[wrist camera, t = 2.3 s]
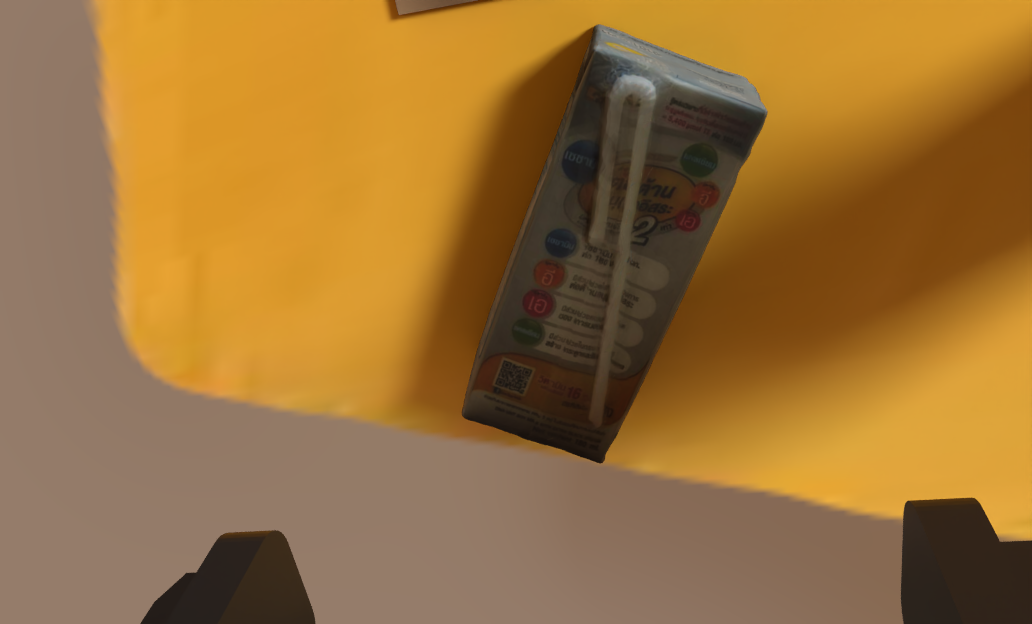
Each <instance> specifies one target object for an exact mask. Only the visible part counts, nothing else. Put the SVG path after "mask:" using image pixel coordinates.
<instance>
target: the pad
mask: <svg viewBox="0 0 1032 624" xmlns="http://www.w3.org/2000/svg"><path fill="white" fill-rule="evenodd" d="M471 1H476V0H395V2H396V6H397V10H398V14H399V15H402V14H408V13H413V12H418V11H423V10H429V9H434V8H439V7H445V6H450V5H455V4H461V3H466V2H471Z"/></svg>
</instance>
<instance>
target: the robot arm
mask: <svg viewBox="0 0 1032 624" xmlns="http://www.w3.org/2000/svg"><path fill="white" fill-rule="evenodd" d="M901 606H902V614H903V621H904V624H1032V541H1012V542H1000V541H999V539H998V537H997V535H996V533H995V531H994V529H993V527H992V525H991V523H990V522H989V520H988V518H987V516H986V514H985V512H984V510H983V508H982V506H981V505H980V503H979V502H978V501H977V500H976V499H975V498H955V499H935V500H915V501H907V502H906V504H905V507H904V516H903V546H902V577H901ZM141 624H315V617H314V613H313V609H312V606H311V604H310V601H309V598H308V596H307V593H306V590H305V587H304V585H303V582H302V579H301V577H300V574H299V571H298V569H297V566H296V563H295V560H294V558H293V555H292V552H291V549H290V547H289V544H288V542H287V539H286V538H285V536H284V535H283V534H282V533H281V532H279V531H276V530H275V531H255V532H235V533H225V534H223V535H221V536H220V537H219V538H218V539H217V541H216V542H215V544H214V545H213V547H212V548H211V550H210V551H209V553H208V555H207V556H206V558H205V560H204V561H203V563H202V565H201V566H200V568H199V569H198V571H197V573H186V574H185V575H184V576H183V577H182V578H181V579H179V580H178V581H177V582H176V583H175V584H174V585H173V586H172V587H171V588H170V589H169V590H167V591H166V592H165V593H164V594H163V595H162V596H161V597H160V598H158V599H157V600H156V601H155V602H154V604H153V605H152V607H151V608H150V610H149V611H148V613H147V614H146V616H145V617H144V619H143V620H142V622H141Z"/></svg>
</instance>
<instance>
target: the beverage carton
mask: <svg viewBox="0 0 1032 624" xmlns="http://www.w3.org/2000/svg"><path fill="white" fill-rule="evenodd" d="M766 116H767V110H766V108H765V106H764V105H763V103H762V102H761V100H760V96H759V94H758V92H757V90H756V88H755V87H754V86H753V85H752V84H750V83H749V82H748V80H747V79H746V78H745V77H743V76H740V75H737V74H733V73H730V72H726V71H723V70H721V69H718V68H715V67H712V66H709V65H706V64H703V63H700V62H698V61H695V60H693V59H690V58H687V57H685V56H682V55H679V54H677V53H674V52H672V51H669V50H667V49H664V48H661V47H659V46H656V45H653V44H651V43H648V42H646V41H643V40H640V39H637V38H635V37H633V36H631V35H628V34H626V33H624V32H621V31H619V30H616V29H613V28H610V27H606V26H603V25H596V26H595V27H594V30H593V34H592V37H591V41H590V43H589V46H588V48H587V51H586V53H585V56H584V59H583V62H582V65H581V68H580V71H579V74H578V78H577V81H576V84H575V87H574V90H573V92H572V95H571V97H570V100H569V102H568V105H567V108H566V111H565V114H564V116H563V119H562V121H561V124H560V127H559V129H558V132H557V135H556V137H555V140H554V143H553V145H552V148H551V151H550V153H549V156H548V158H547V161H546V163H545V166H544V168H543V171H542V173H541V176H540V179H539V181H538V184H537V186H536V189H535V192H534V194H533V197H532V200H531V202H530V205H529V207H528V210H527V212H526V215H525V218H524V221H523V223H522V226H521V228H520V231H519V234H518V237H517V239H516V242H515V245H514V248H513V250H512V253H511V255H510V258H509V261H508V263H507V266H506V269H505V272H504V275H503V277H502V280H501V283H500V286H499V288H498V291H497V294H496V297H495V299H494V302H493V305H492V307H491V310H490V312H489V316H488V319H487V322H486V325H485V328H484V331H483V334H482V337H481V340H480V343H479V346H478V349H477V353H476V357H475V360H474V364H473V368H472V372H471V375H470V379H469V383H468V387H467V391H466V395H465V400H464V405H463V409H462V416H463V417H464V418H465V419H468V420H470V421H475V422H478V423H481V424H484V425H488V426H492V427H495V428H498V429H500V430H503V431H505V432H508V433H512V434H515V435H517V436H519V437H521V438H524V439H527V440H530V441H534V442H537V443H540V444H543V445H548V446H552V447H555V448H559V449H562V450H565V451H567V452H570V453H572V454H575V455H577V456H580V457H583V458H586V459H589V460H592V461H595V462H597V463H603V461H604V460H605V454H606V452H607V451H608V449H609V447H610V445H611V444H612V442H613V441H614V439H615V438H616V436H617V434H618V432H619V429H620V427H621V425H622V423H623V421H624V419H625V417H626V415H627V413H628V411H629V409H630V407H631V405H632V403H633V401H634V399H635V397H636V395H637V393H638V391H639V389H640V387H641V385H642V383H643V381H644V379H645V376H646V374H647V372H648V370H649V368H650V366H651V364H652V361H653V359H654V357H655V355H656V353H657V351H658V349H659V347H660V345H661V343H662V340H663V338H664V336H665V334H666V332H667V330H668V328H669V326H670V324H671V321H672V319H673V317H674V315H675V313H676V311H677V309H678V307H679V305H680V303H681V301H682V298H683V296H684V294H685V292H686V290H687V288H688V285H689V283H690V281H691V279H692V277H693V274H694V272H695V270H696V268H697V266H698V264H699V261H700V259H701V257H702V255H703V253H704V251H705V248H706V246H707V244H708V242H709V240H710V238H711V236H712V233H713V231H714V229H715V227H716V225H717V223H718V220H719V218H720V216H721V214H722V212H723V209H724V207H725V205H726V203H727V201H728V198H729V196H730V194H731V192H732V189H733V187H734V185H735V182H736V179H737V175H738V172H739V170H740V168H741V166H742V165H743V164H744V163H745V161H746V160H747V158H748V157H749V155H750V153H751V149H752V146H753V144H754V142H755V140H756V138H757V136H758V135H759V133H760V131H761V129H762V127H763V124H764V122H765V119H766Z"/></svg>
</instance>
